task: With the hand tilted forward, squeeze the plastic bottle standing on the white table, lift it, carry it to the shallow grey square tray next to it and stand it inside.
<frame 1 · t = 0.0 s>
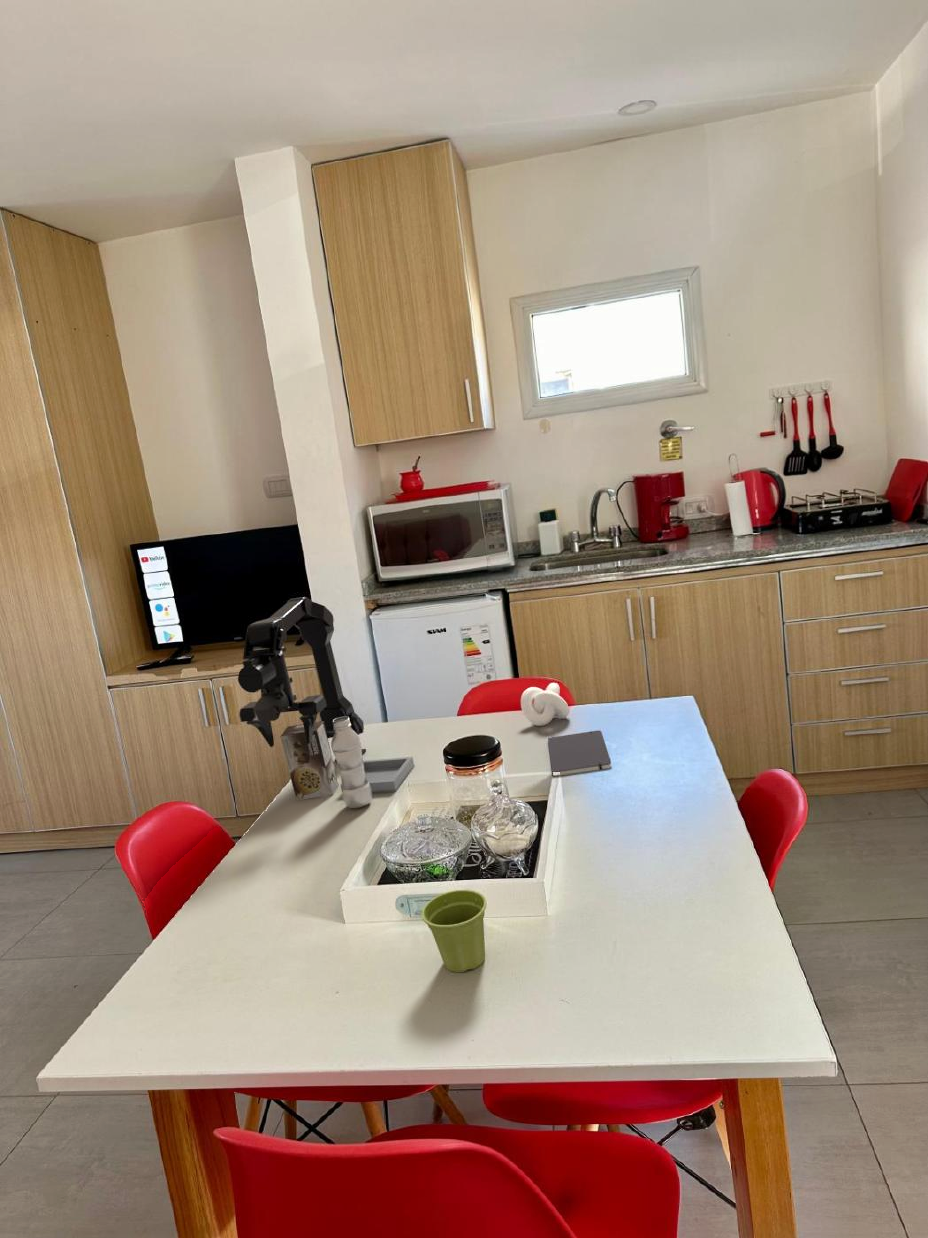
hand: (290, 744, 190), 15 cm above the table, tool pointing down, fingers open, 9 cm apart
grey square tray: (379, 780, 200), on the table
coffee box: (317, 793, 200), on the table
plant pot: (464, 961, 125), on the table
notebook: (579, 757, 194), on the table
plastic bottle: (359, 806, 188), on the table
white knot sculpture: (550, 721, 220), on the table
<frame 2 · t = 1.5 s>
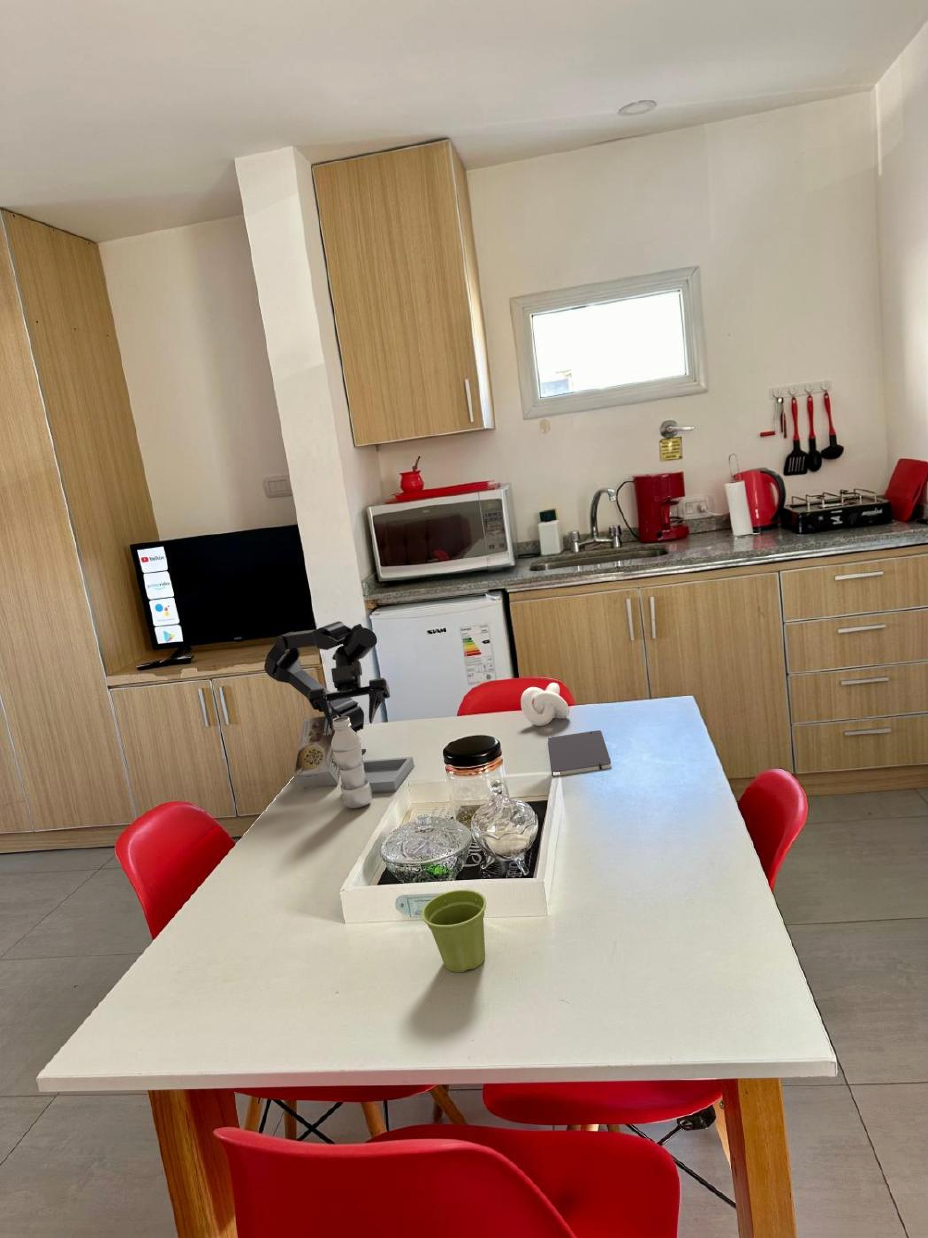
hand: (351, 726, 200), 13 cm above the table, tool tilted 45°, fingers open, 9 cm apart
coffee box: (315, 781, 200), point 2 cm above the table, touching arm
everything else where it was.
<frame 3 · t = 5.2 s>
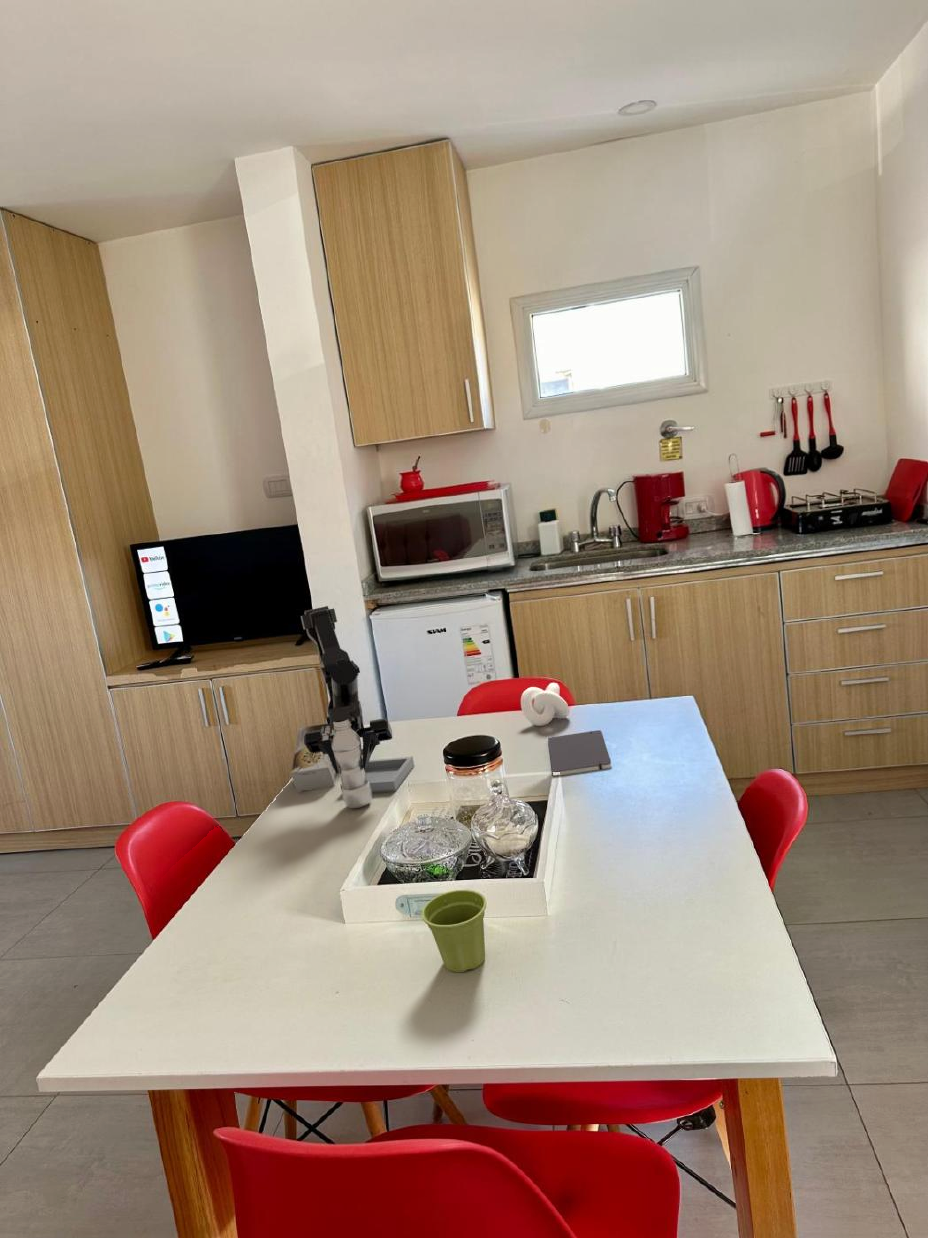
hand: (350, 771, 185), 9 cm above the table, tool tilted 45°, fingers closed on plastic bottle, 6 cm apart
plastic bottle: (359, 806, 188), on the table, touching gripper
when the fingers open (10 cm above the table, at t = 8.9 s): plastic bottle drops 1 cm, resting on grey square tray.
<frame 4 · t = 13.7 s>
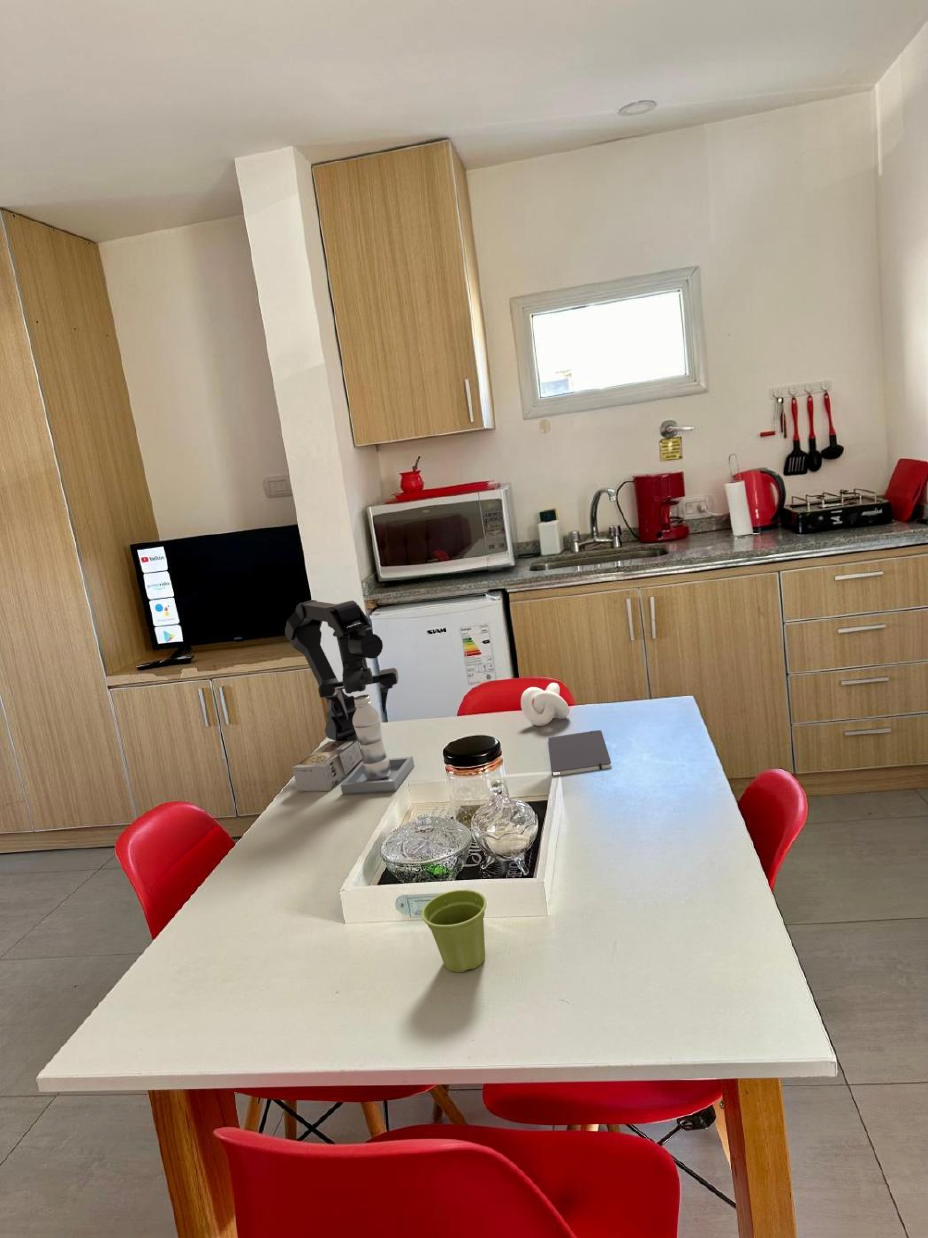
hand: (365, 716, 207), 13 cm above the table, tool pointing down, fingers open, 9 cm apart
coffee box: (309, 780, 200), point 3 cm above the table
plastic bottle: (379, 779, 200), resting on grey square tray
everything else where it was.
at the end: plastic bottle inside the target area on the grey square tray (0.1 cm from its centre), point 0.3 cm above the grey square tray's base; plastic bottle tilted 0°; the gripper is holding nothing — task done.
